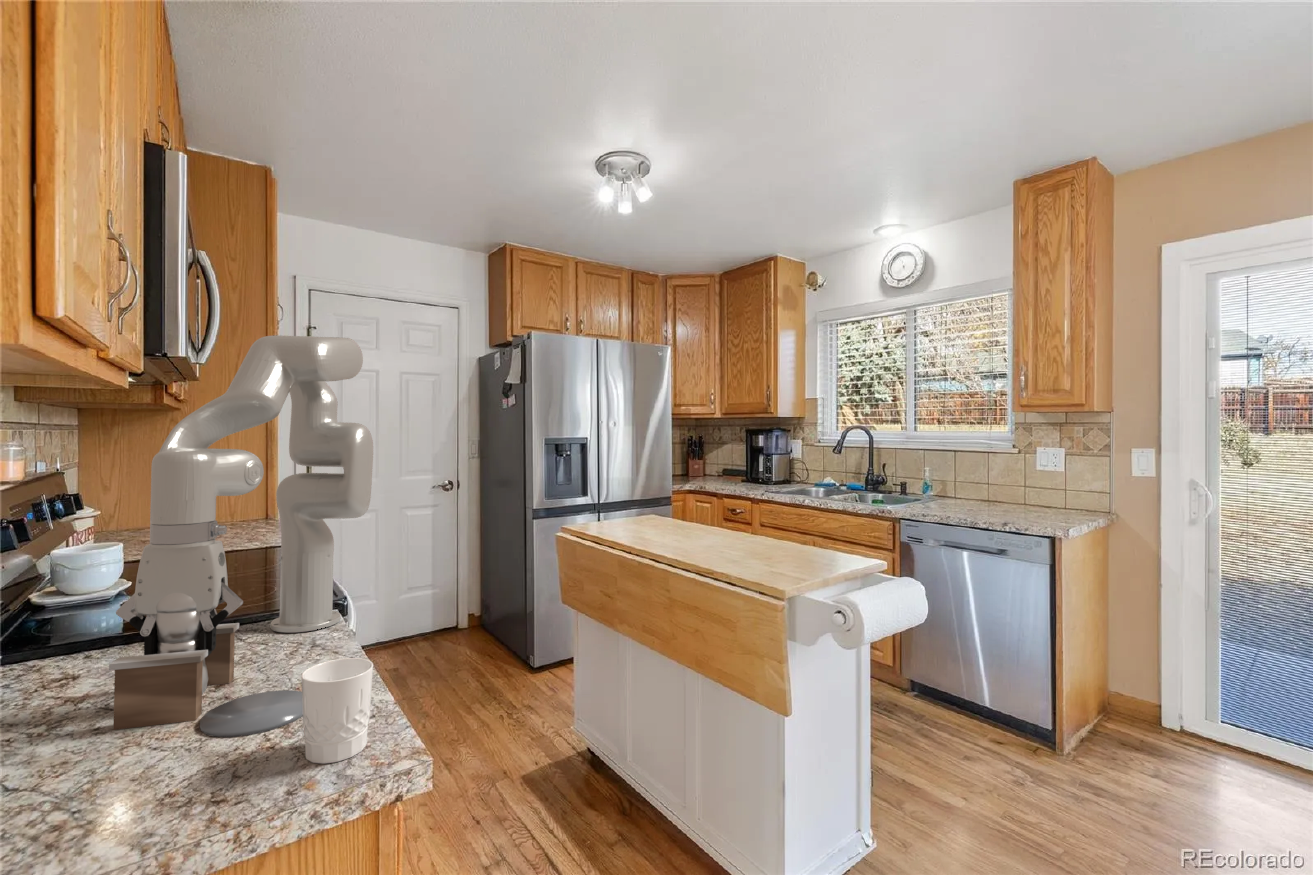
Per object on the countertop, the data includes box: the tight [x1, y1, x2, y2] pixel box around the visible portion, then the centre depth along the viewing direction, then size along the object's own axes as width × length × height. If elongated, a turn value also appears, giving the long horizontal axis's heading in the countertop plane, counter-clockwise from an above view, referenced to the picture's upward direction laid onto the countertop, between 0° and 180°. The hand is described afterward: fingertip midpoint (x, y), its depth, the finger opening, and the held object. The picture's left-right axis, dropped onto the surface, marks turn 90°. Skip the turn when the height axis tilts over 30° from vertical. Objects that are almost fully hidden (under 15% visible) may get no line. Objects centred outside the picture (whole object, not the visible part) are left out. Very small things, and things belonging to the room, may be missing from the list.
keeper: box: [108, 622, 240, 731], centre depth 86 cm, size 16×10×9 cm, turn 20°
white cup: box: [300, 657, 374, 765], centre depth 73 cm, size 8×8×10 cm
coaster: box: [199, 689, 303, 738], centre depth 82 cm, size 13×13×1 cm
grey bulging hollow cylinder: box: [155, 593, 208, 695], centre depth 86 cm, size 6×7×20 cm
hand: (180, 657), depth 86 cm, fingers closed on grey bulging hollow cylinder, 5 cm apart
